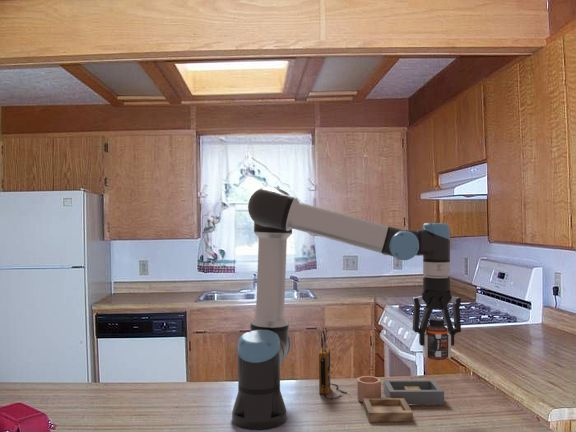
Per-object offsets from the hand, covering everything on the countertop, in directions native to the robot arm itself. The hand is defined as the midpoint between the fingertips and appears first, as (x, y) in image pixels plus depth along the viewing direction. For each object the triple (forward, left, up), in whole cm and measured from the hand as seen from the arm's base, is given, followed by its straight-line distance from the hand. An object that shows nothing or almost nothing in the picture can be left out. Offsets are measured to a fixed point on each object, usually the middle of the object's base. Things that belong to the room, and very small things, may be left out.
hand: (436, 356), depth 147 cm
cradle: (-5, +9, -15) cm, 19 cm away
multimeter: (-28, +16, -16) cm, 36 cm away
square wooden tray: (-15, -3, -15) cm, 22 cm away
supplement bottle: (0, 0, -1) cm, 1 cm away
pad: (-5, +9, -13) cm, 17 cm away
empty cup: (-18, +9, -15) cm, 26 cm away
